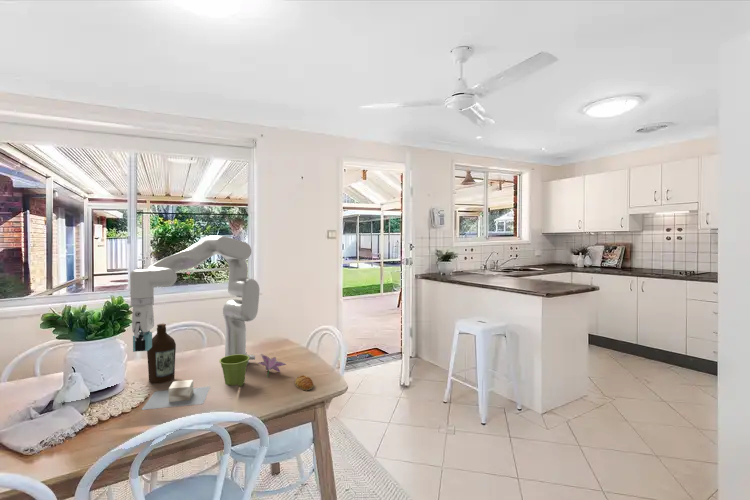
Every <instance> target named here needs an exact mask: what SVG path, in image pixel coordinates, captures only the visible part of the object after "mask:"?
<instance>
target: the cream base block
mask: <svg viewBox="0 0 750 500" xmlns="http://www.w3.org/2000/svg"><path fill="white" fill-rule="evenodd" d="M193 388H194V379H188V380H186V379H185V380H174V381H172V383H171V384H170V386H169V387H168V390H169V402H174V401H184V400H190V398H191V396H192V394H193Z"/></svg>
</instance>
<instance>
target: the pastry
mask: <svg viewBox="0 0 750 500" xmlns="http://www.w3.org/2000/svg"><path fill="white" fill-rule="evenodd" d="M294 385H295V386H296V388H298V389H299V388H300V390H302V391H309V390H312V389H313V388H314V386H315V385H314V381H313V379H311V377H310V376H307V375H304V374H303V375H302V374H301V375H299V376H298V377H297V378H296V379H295V381H294Z"/></svg>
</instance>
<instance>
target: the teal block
mask: <svg viewBox="0 0 750 500" xmlns="http://www.w3.org/2000/svg"><path fill="white" fill-rule="evenodd" d="M140 335H141V336H142V334H140ZM152 338H153V331H150V332H146V333H145V335H144V340H145V350H144V351H143V352H147V351H148V350H149V349H151V348H152ZM132 352H133V353H134V352H137V353H138V351H135V336H134V335H132Z"/></svg>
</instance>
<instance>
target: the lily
mask: <svg viewBox="0 0 750 500" xmlns="http://www.w3.org/2000/svg"><path fill="white" fill-rule="evenodd" d="M260 356H261V358H262V360H263V361H260V362H258V363H257V365H261V366H265V371H266V370H268V371H267V376H266V378H267V377H268V376H269V373H270V371H271V370H274V371H276V372H277V373H281V370H280V368H279V367H282V366H286V365H287V364H286V363H285V362H283V361H278V360H277V357H275V356H274V357H271V358H270V357H268V356H267V355H264V354H260ZM268 378H269V377H268Z"/></svg>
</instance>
